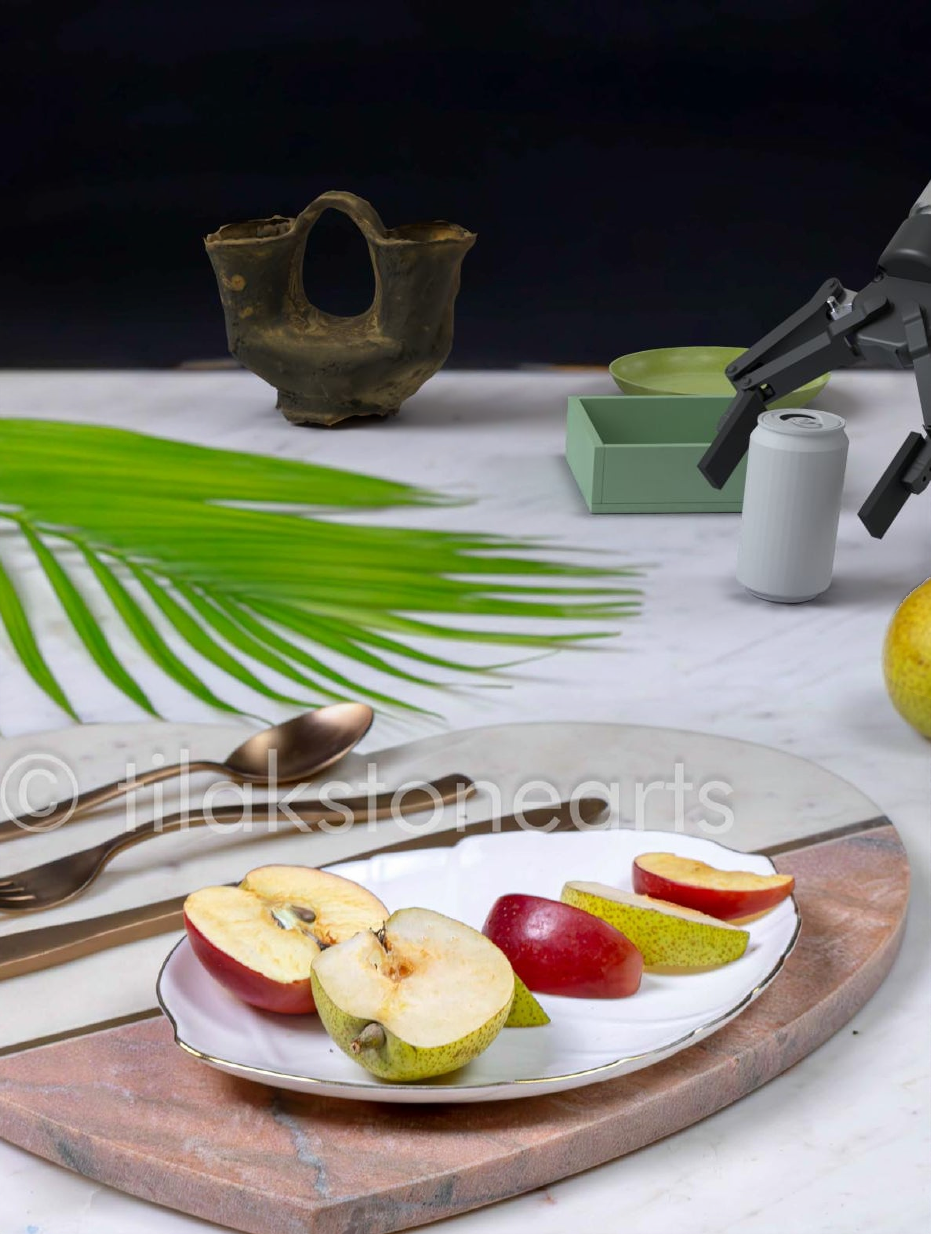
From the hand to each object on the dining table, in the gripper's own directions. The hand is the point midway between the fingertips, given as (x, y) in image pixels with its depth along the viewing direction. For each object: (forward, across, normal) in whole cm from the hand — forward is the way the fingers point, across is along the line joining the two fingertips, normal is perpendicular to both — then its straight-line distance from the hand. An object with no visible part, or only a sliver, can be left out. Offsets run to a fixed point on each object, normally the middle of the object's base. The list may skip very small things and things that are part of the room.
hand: (785, 502), depth 114 cm
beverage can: (+4, 0, -5) cm, 7 cm away
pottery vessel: (+1, +56, -8) cm, 56 cm away
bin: (-5, +22, -14) cm, 26 cm away
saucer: (-21, +37, -30) cm, 52 cm away
